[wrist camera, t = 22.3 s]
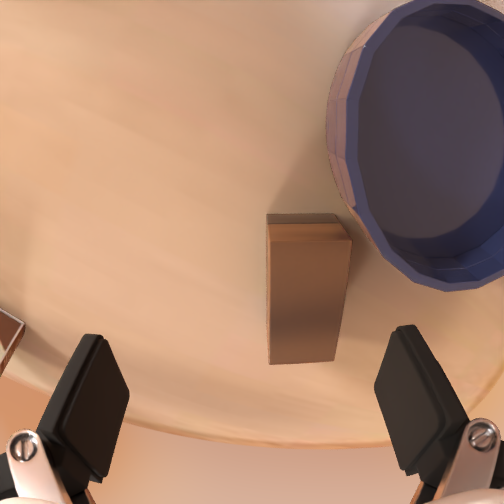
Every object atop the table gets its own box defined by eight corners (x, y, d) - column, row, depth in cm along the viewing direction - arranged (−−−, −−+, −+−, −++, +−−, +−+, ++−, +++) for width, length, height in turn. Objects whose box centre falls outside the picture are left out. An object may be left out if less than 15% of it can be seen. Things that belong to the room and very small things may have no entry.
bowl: (320, -14, 12) (337, -42, 9) (529, 52, 12) (564, 53, 8) (319, 265, 20) (332, 300, 16) (509, 257, 19) (537, 281, 16)
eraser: (266, 213, 18) (269, 241, 15) (333, 213, 18) (353, 240, 15) (266, 324, 22) (268, 365, 18) (322, 322, 22) (334, 361, 18)
